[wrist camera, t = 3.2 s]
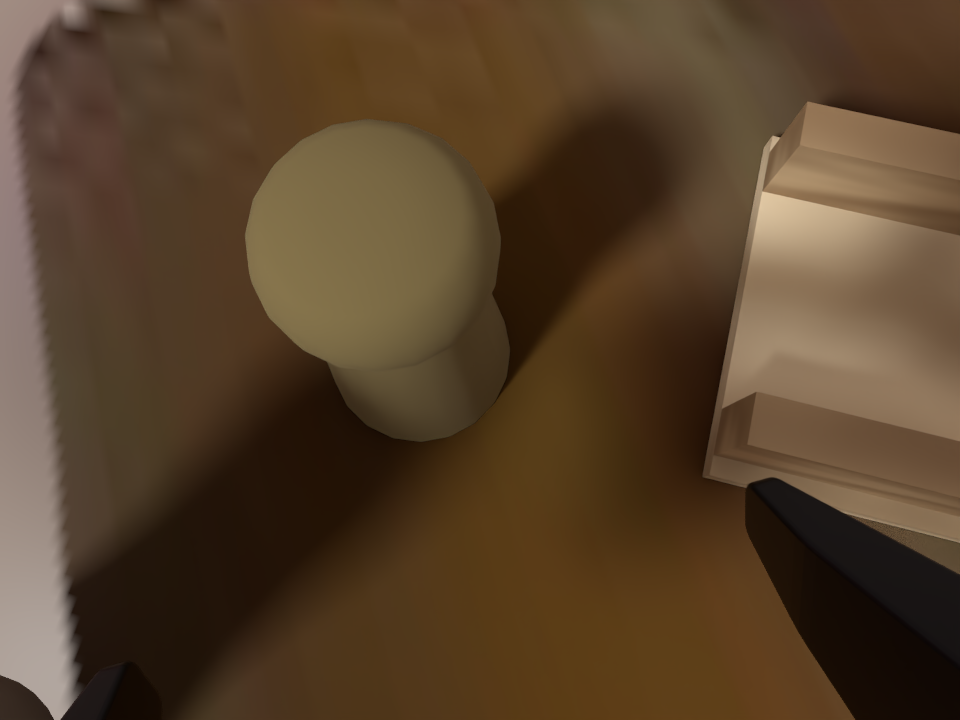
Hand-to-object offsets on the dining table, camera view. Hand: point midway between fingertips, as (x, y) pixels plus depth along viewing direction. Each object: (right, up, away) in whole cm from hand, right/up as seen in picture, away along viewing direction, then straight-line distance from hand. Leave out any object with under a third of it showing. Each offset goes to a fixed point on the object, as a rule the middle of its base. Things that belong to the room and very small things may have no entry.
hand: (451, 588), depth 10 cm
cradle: (+16, +3, +13) cm, 21 cm away
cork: (-2, +3, +14) cm, 14 cm away
